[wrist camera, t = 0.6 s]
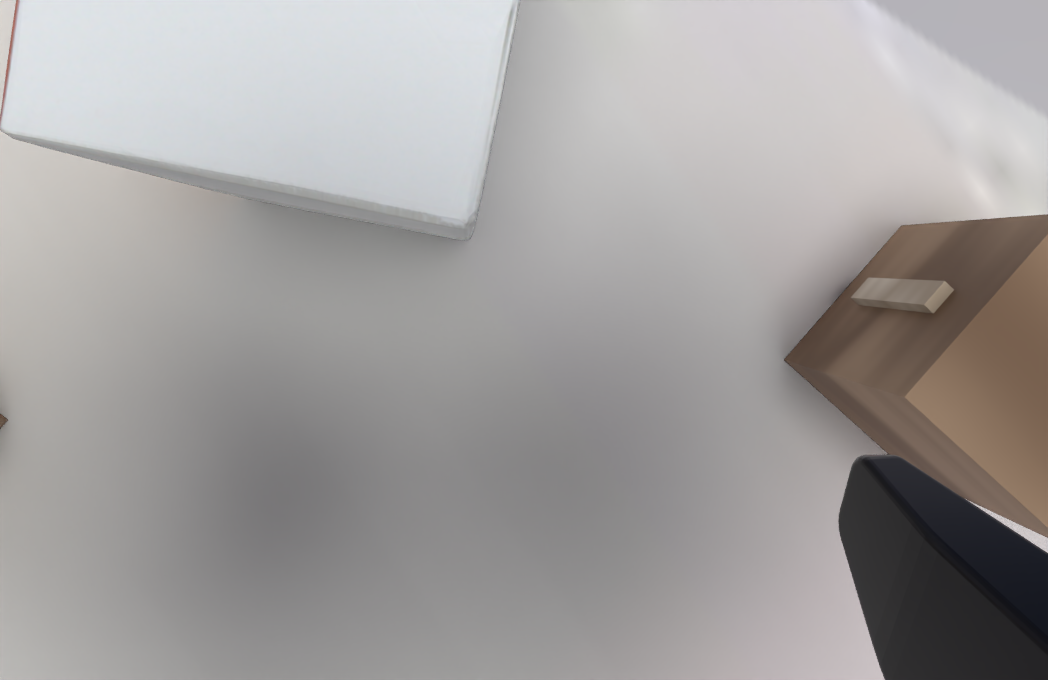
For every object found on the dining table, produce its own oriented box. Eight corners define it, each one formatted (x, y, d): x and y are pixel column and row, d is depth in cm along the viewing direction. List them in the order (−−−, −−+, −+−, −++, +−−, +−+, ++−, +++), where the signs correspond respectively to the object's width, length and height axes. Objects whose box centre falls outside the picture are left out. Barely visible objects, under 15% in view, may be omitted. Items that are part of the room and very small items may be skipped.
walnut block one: (908, 471, 26) (1070, 548, 19) (775, 352, 26) (894, 387, 19) (1023, 341, 26) (1228, 370, 19) (893, 218, 26) (1056, 203, 19)
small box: (286, -107, 24) (79, -549, 11) (526, -55, 24) (604, -415, 11) (236, 202, 24) (-18, 137, 11) (471, 247, 25) (485, 233, 12)
